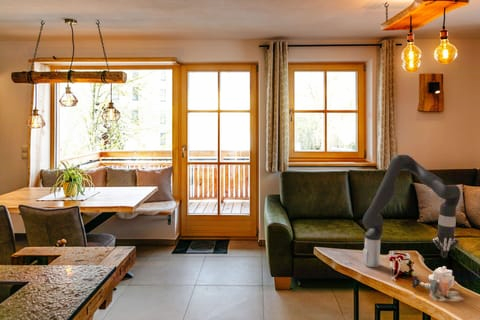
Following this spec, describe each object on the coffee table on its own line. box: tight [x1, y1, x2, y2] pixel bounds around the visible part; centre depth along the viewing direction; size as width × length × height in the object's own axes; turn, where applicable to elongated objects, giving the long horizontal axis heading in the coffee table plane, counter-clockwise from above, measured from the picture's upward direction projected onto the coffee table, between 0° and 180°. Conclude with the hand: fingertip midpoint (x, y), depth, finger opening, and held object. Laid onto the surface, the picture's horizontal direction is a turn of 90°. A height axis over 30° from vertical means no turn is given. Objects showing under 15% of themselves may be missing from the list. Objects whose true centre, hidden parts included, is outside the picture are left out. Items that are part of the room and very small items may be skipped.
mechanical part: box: [428, 265, 455, 289], centre depth 198 cm, size 11×12×12 cm
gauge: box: [428, 280, 465, 302], centre depth 186 cm, size 14×6×8 cm, turn 92°
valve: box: [411, 275, 431, 293], centre depth 194 cm, size 7×7×12 cm
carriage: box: [439, 280, 451, 297], centre depth 187 cm, size 3×5×7 cm, turn 2°
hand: (444, 257), depth 187 cm, fingers closed
